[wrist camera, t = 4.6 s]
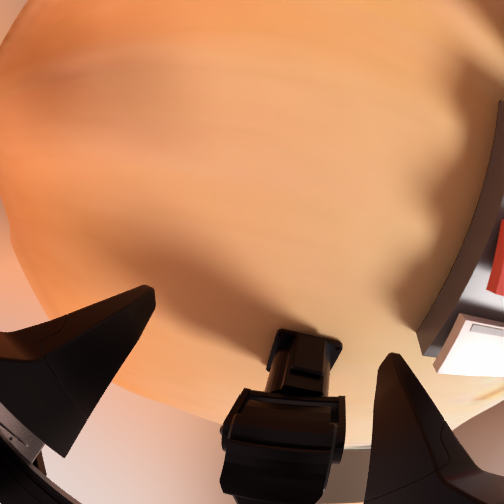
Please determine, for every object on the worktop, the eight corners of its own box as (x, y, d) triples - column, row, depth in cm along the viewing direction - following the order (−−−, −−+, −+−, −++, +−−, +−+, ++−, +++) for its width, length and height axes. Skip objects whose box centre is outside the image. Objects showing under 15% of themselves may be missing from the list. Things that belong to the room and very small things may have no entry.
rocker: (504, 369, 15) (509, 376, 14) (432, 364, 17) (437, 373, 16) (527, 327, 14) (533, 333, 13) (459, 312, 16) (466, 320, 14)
